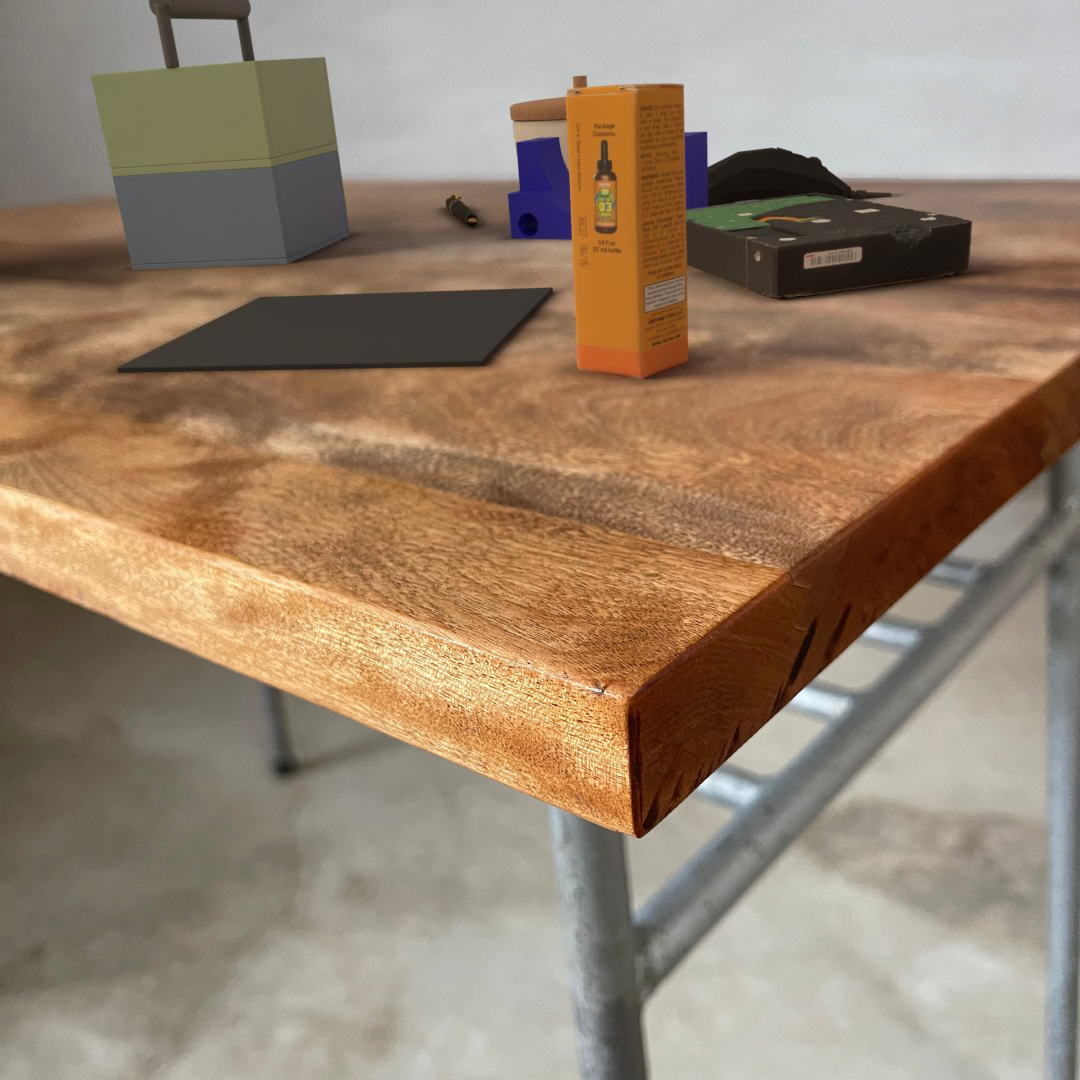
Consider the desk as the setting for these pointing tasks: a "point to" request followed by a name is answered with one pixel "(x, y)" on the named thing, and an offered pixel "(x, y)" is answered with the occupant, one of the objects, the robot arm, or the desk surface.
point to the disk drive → (822, 244)
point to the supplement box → (628, 227)
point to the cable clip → (548, 187)
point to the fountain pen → (460, 210)
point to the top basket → (214, 105)
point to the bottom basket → (233, 214)
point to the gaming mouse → (774, 177)
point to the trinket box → (544, 119)
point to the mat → (351, 332)
